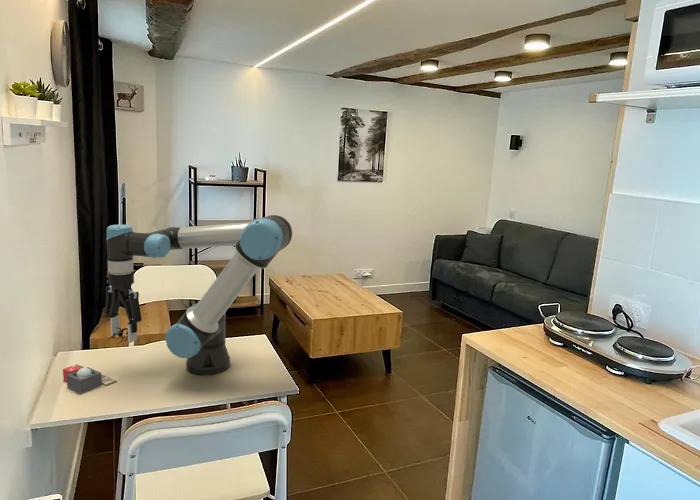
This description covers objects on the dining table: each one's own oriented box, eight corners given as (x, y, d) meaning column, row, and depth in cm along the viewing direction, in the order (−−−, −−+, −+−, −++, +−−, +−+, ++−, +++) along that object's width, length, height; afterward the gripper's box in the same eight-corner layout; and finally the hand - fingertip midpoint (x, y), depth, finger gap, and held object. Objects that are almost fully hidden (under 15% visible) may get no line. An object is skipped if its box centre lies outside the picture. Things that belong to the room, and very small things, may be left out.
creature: (111, 349, 156) (137, 339, 160) (107, 334, 154) (132, 325, 158) (107, 341, 162) (132, 332, 166) (102, 326, 160) (127, 318, 164)
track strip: (117, 381, 158) (117, 380, 158) (105, 386, 155) (105, 384, 155) (77, 365, 169) (76, 363, 169) (65, 369, 165) (65, 367, 165)
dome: (94, 381, 154) (94, 367, 153) (82, 385, 151) (81, 372, 150) (86, 377, 156) (86, 364, 155) (74, 382, 153) (73, 368, 152)
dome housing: (101, 385, 155) (101, 372, 154) (80, 394, 149) (79, 380, 148) (88, 380, 158) (87, 367, 158) (67, 388, 152) (66, 374, 152)
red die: (82, 379, 159) (82, 366, 158) (70, 383, 155) (70, 370, 154) (75, 376, 161) (74, 363, 160) (63, 380, 157) (62, 367, 156)
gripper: (152, 275, 155) (154, 341, 160) (111, 265, 165) (114, 328, 170) (132, 279, 149) (134, 349, 153) (90, 269, 159) (93, 334, 163)
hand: (123, 338), depth 161 cm, fingers closed on creature, 8 cm apart
